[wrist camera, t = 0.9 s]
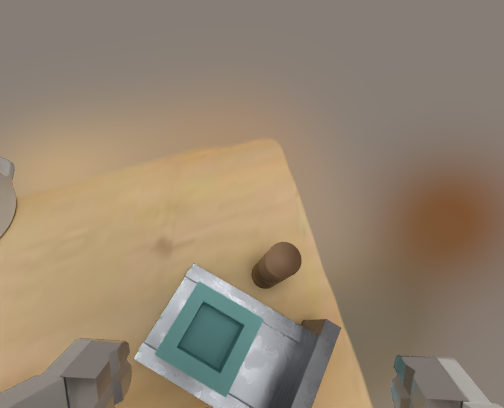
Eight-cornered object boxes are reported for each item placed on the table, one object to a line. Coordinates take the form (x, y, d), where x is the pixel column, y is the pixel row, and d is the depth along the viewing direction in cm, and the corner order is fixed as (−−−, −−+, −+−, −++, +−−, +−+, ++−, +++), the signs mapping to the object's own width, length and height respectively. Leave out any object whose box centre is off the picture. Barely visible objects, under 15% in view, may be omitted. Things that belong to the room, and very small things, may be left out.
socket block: (161, 349, 40) (154, 354, 33) (199, 287, 43) (198, 280, 37) (221, 386, 39) (225, 397, 33) (254, 319, 43) (264, 319, 36)
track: (130, 365, 39) (111, 376, 31) (197, 258, 46) (196, 244, 37) (265, 448, 38) (283, 482, 30) (315, 327, 45) (341, 327, 36)
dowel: (247, 279, 46) (261, 265, 35) (259, 256, 47) (277, 236, 36) (270, 293, 45) (292, 283, 34) (282, 269, 47) (306, 252, 36)
